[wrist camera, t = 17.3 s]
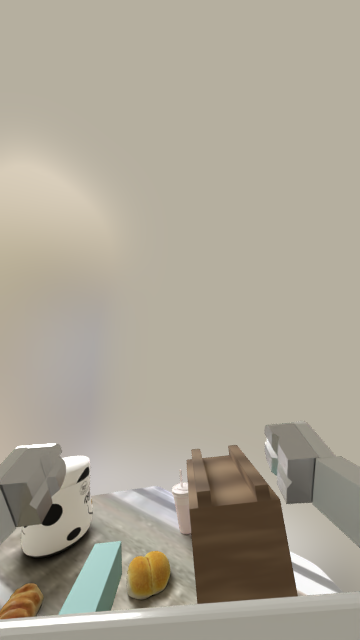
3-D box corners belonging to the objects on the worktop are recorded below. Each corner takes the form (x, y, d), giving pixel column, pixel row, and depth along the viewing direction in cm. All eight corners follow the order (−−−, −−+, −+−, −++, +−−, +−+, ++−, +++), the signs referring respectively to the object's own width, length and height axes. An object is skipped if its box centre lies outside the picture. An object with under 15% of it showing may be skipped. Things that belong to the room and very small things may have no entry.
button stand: (360, 893, 16) (282, 482, 24) (224, 911, 16) (187, 492, 23) (279, 659, 30) (245, 443, 37) (205, 668, 30) (185, 450, 37)
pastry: (17, 661, 33) (19, 628, 34) (-33, 675, 32) (-29, 641, 33) (45, 600, 42) (46, 576, 43) (7, 610, 41) (9, 585, 42)
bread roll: (175, 589, 42) (173, 563, 43) (129, 610, 39) (128, 582, 40) (164, 557, 49) (163, 536, 50) (125, 573, 46) (124, 550, 47)
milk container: (105, 524, 63) (105, 455, 67) (50, 575, 47) (55, 482, 52) (64, 515, 69) (66, 453, 73) (3, 558, 53) (11, 476, 58)
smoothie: (186, 518, 61) (182, 463, 65) (203, 527, 57) (197, 468, 61) (170, 530, 57) (165, 471, 61) (186, 542, 53) (180, 477, 56)
